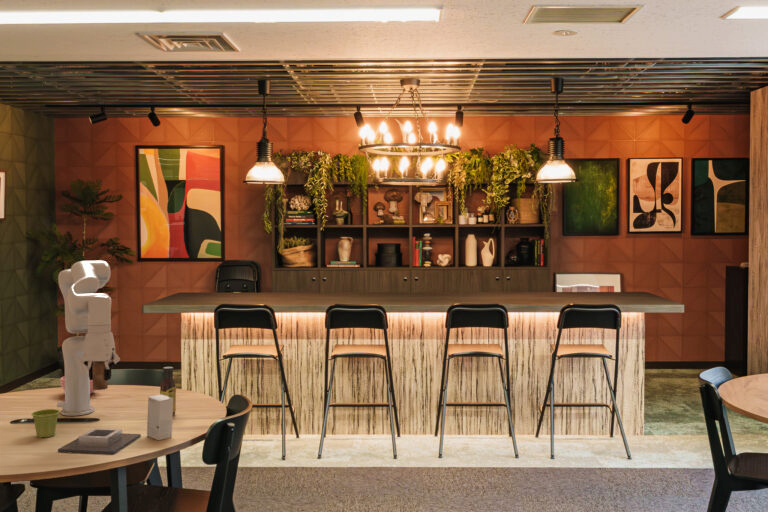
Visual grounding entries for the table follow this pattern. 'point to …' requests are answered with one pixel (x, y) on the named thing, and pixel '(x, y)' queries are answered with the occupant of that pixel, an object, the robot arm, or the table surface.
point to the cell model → (64, 384)
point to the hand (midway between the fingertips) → (100, 379)
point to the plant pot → (45, 422)
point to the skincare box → (159, 417)
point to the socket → (100, 442)
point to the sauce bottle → (168, 386)
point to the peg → (99, 376)
